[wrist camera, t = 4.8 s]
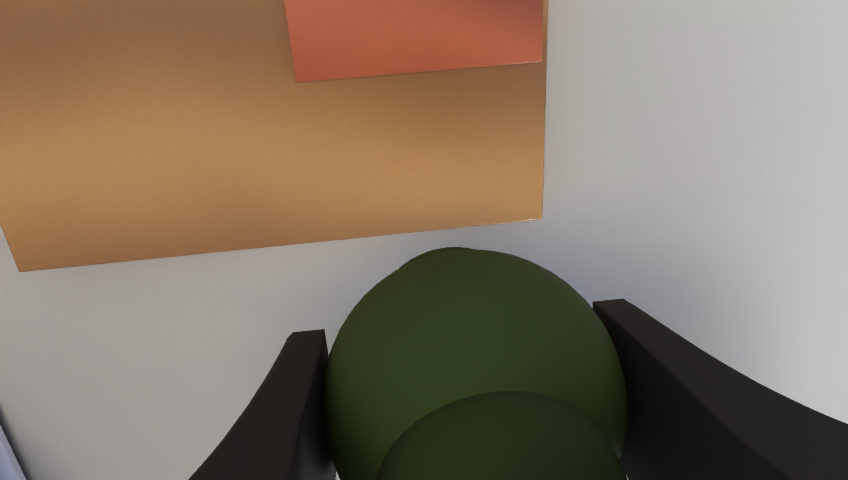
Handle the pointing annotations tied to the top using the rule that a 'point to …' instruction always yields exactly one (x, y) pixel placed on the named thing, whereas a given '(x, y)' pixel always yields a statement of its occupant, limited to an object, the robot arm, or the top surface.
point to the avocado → (474, 377)
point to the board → (263, 123)
